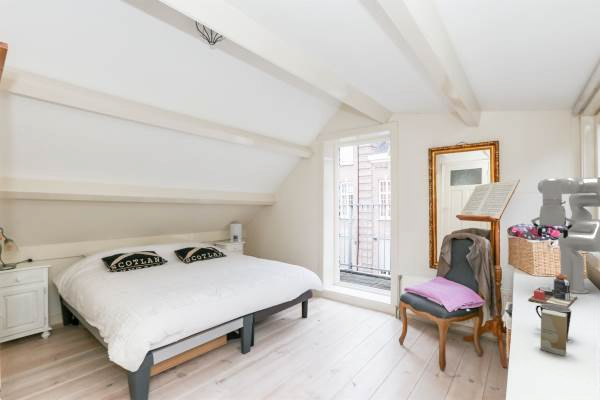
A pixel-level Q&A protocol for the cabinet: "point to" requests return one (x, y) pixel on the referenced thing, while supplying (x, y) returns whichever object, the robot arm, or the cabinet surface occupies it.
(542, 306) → the coffee mug
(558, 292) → the pill bottle
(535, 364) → the cabinet surface
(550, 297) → the game board
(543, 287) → the dome
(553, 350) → the skincare box
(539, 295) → the red die
